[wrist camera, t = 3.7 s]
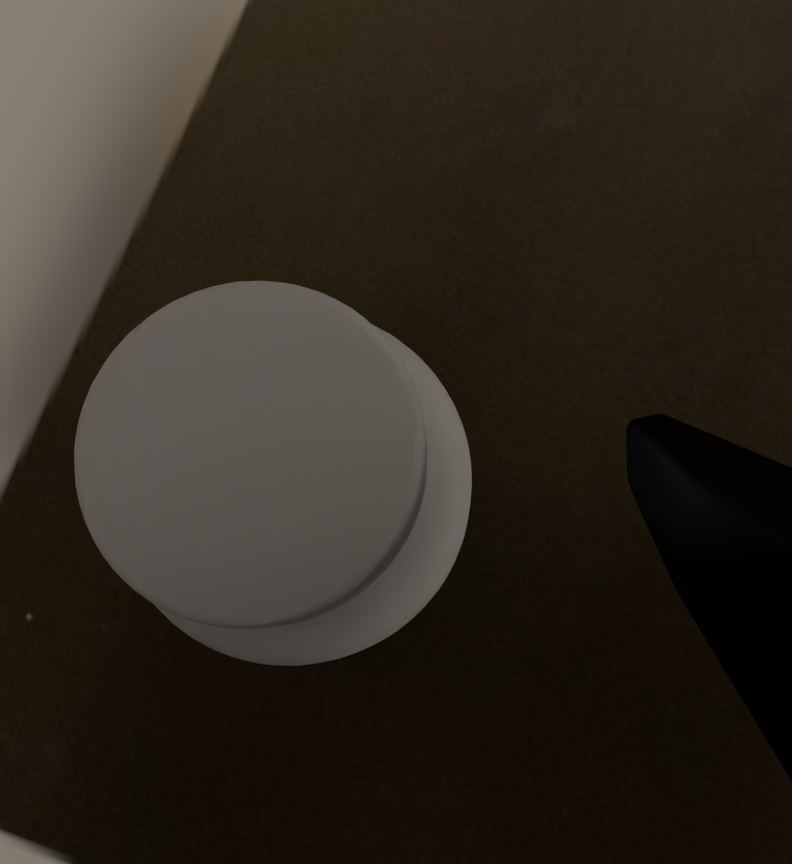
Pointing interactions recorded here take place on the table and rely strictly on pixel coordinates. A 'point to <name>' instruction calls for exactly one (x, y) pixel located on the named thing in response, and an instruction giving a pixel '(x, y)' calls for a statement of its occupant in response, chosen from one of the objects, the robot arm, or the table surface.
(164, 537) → the pill bottle
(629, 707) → the table surface
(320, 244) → the table surface
